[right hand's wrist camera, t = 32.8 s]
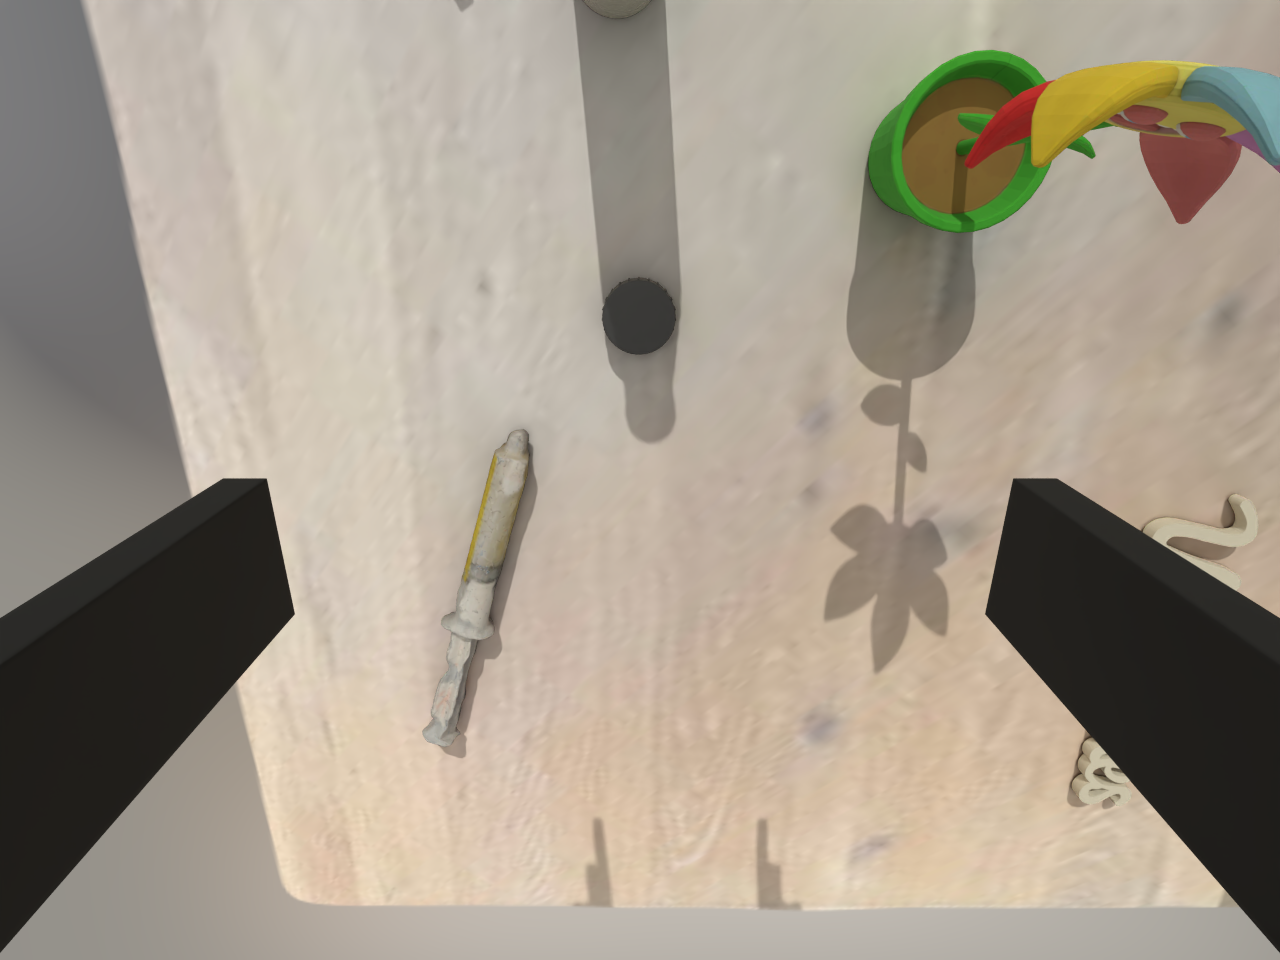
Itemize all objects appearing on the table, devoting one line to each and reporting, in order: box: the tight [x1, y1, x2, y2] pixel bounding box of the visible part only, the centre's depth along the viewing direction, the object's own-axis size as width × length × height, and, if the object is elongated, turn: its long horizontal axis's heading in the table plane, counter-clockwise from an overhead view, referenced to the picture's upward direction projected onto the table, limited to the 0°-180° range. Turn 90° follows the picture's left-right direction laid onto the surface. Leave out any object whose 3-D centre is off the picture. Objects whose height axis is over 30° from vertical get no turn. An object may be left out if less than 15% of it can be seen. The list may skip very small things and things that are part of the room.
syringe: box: [422, 430, 530, 747], centre depth 47 cm, size 25×4×3 cm, turn 160°
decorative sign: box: [1072, 494, 1258, 806], centre depth 50 cm, size 26×1×10 cm
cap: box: [602, 277, 676, 354], centre depth 41 cm, size 4×4×2 cm
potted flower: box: [868, 50, 1280, 233], centre depth 27 cm, size 9×8×25 cm
